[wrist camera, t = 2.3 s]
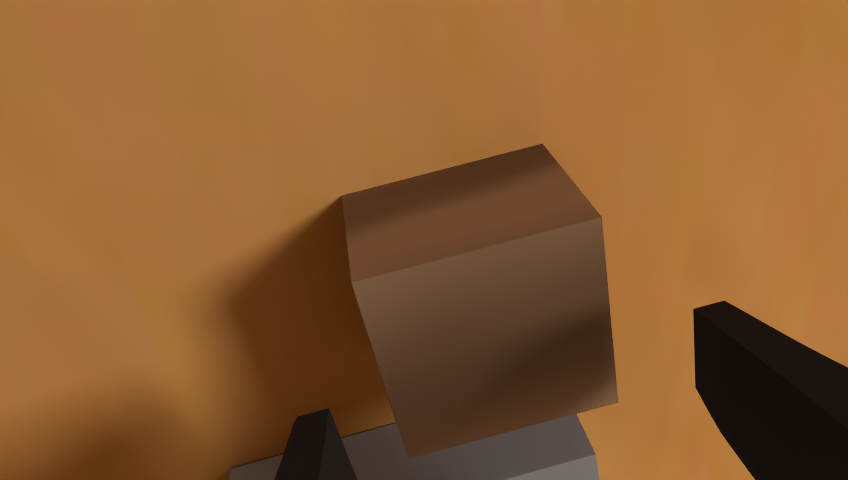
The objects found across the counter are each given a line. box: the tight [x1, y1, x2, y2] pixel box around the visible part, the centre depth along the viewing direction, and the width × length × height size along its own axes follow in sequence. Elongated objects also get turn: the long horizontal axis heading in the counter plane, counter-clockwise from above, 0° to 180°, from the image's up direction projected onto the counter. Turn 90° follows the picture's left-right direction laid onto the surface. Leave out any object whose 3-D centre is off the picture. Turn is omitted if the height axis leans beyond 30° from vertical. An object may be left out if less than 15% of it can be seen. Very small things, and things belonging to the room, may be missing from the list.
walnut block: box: [342, 144, 618, 459], centre depth 16 cm, size 5×5×4 cm
